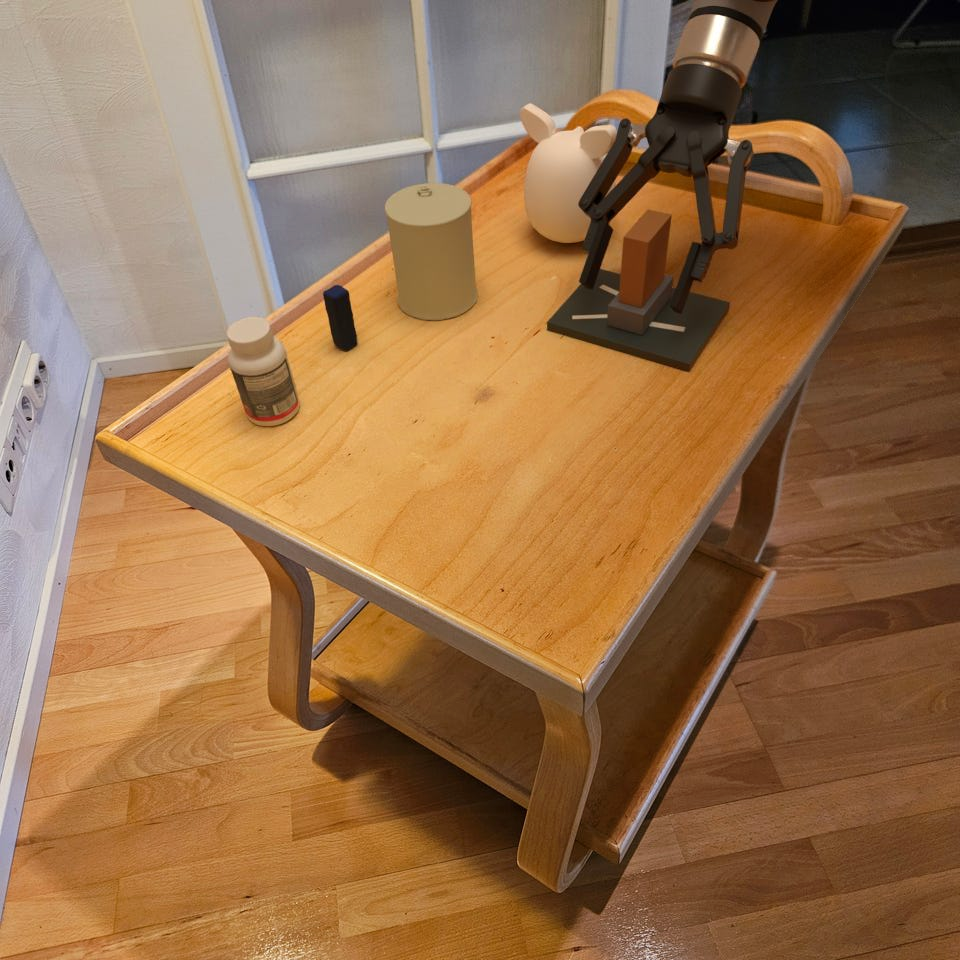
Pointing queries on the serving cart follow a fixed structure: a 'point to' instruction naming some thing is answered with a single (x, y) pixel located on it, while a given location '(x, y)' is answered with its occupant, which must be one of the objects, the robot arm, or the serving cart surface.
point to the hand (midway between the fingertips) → (629, 297)
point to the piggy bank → (561, 174)
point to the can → (432, 250)
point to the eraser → (340, 317)
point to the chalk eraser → (642, 274)
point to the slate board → (661, 342)
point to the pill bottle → (261, 372)
